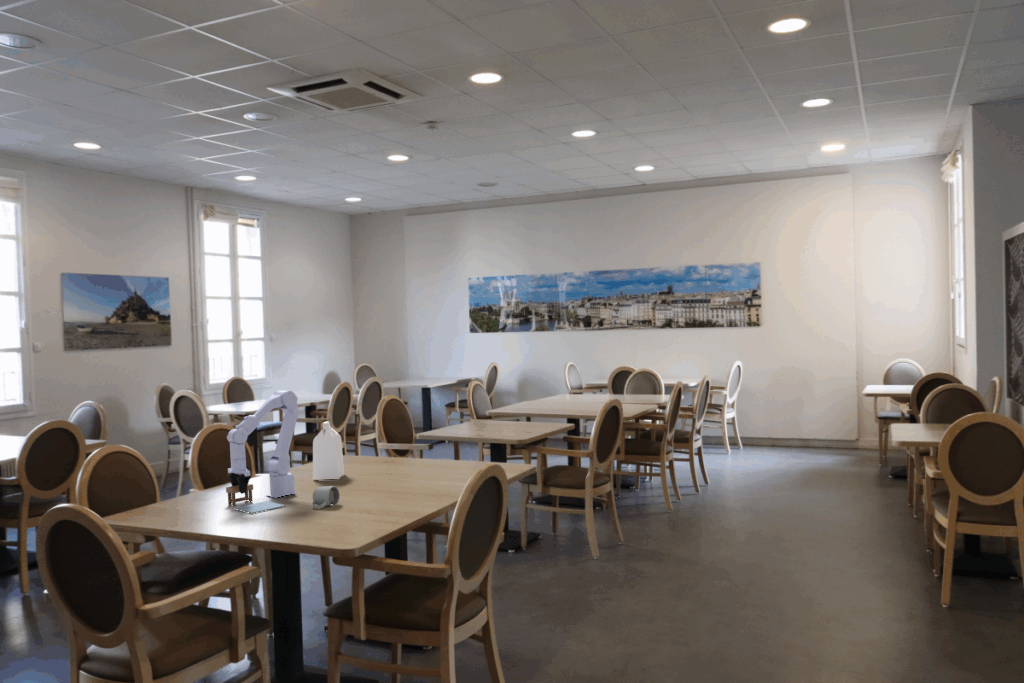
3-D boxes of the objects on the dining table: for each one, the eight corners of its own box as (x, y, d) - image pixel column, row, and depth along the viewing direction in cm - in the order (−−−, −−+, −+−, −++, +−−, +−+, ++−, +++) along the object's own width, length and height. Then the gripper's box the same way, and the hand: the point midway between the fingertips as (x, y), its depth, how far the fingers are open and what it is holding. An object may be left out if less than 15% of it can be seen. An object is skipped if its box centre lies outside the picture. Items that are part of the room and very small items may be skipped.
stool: (247, 500, 314) (246, 483, 314) (253, 501, 310) (253, 484, 310) (226, 504, 307) (226, 487, 307) (233, 506, 304) (232, 488, 304)
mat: (266, 502, 308) (266, 501, 308) (285, 506, 299) (285, 505, 299) (233, 509, 298) (233, 508, 298) (251, 514, 289) (251, 512, 289)
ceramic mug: (322, 502, 303) (321, 483, 303) (340, 503, 300) (339, 484, 300) (306, 509, 293) (305, 489, 293) (324, 510, 290) (323, 490, 290)
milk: (320, 475, 363) (317, 421, 363) (344, 474, 363) (341, 420, 362) (312, 480, 351) (310, 424, 351) (337, 479, 351) (334, 423, 350)
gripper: (220, 458, 310) (221, 492, 311) (237, 461, 301) (239, 496, 301) (236, 456, 316) (238, 488, 316) (254, 459, 306) (256, 492, 306)
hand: (239, 492), depth 309 cm, fingers closed on stool, 5 cm apart
